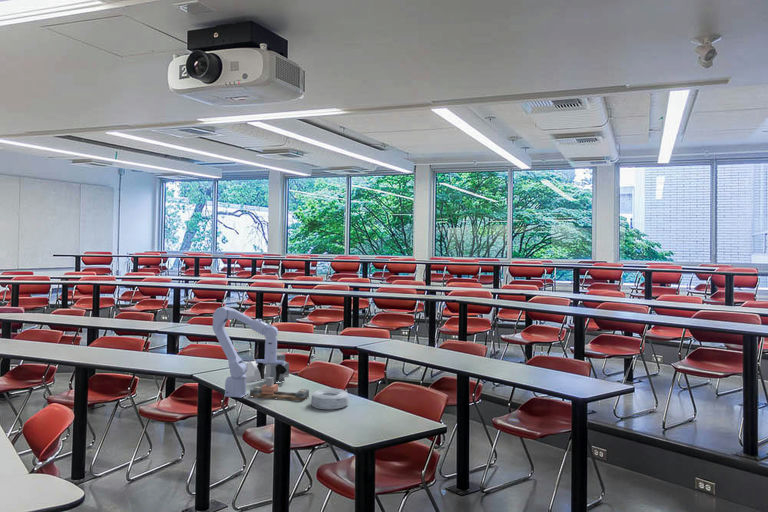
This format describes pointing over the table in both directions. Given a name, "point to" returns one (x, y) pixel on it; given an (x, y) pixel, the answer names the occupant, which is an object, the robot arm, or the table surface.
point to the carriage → (269, 386)
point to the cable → (330, 399)
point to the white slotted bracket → (253, 372)
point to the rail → (280, 394)
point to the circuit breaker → (272, 370)
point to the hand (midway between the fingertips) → (270, 379)
